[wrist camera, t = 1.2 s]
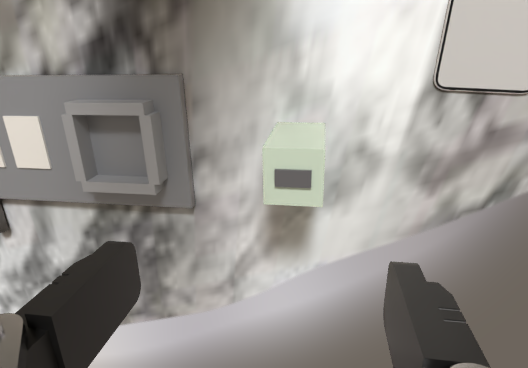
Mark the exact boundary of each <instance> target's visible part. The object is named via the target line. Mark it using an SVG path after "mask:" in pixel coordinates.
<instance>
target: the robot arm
mask: <svg viewBox="0 0 528 368" xmlns="http://www.w3.org/2000/svg"><path fill="white" fill-rule="evenodd" d="M140 289H141V282H140V276H139V269H138V263H137V257H136V250H135V247H134V245H133V244H132V243H130V242H116V241H108V242H106V243H104V244H103V245H102V246H101V247H100V248H99V249H98V250H96V251H95V252H94V253H93V254H92V255H89V256H87V257H85V258H84V259H82V260H80V261H78V262H76V263H74V264H73V265H72V266H70V267H69V268H68V269H67V270H66V271H64V272H63V273H62V276H59V277H57V278H56V279H55V280H54V281H53V282H52V284H49V285H48V286H47V287H46V288H44V289H43V290H42V291H41V292H40V293H39V294H37V295H36V296H35V297H34V298H33V299H31V300H30V301H29V302H28V303H27V304H26V305H24V306H23V307H22V308H21V309H20V310H18V311H17V312H16V313H15V314H12V313H4V314H0V368H88V366H89V365H90V364H91V362H92V361H93V360H94V358H95V357H96V356H97V354H98V353H99V352H100V350H101V349H102V348H103V346H104V345H105V343H106V342H107V341H108V340H109V338H110V337H111V336H112V334H113V333H114V332H115V330H116V329H117V328H118V326H119V325H120V324H121V322H122V321H123V320H124V318H125V317H126V316H127V314H128V313H129V312H130V310H131V309H132V308H133V306H134V305H135V303H136V302H137V300H138V298H139V294H140ZM383 316H384V327H385V332H386V336H387V341H388V345H389V350H390V355H391V359H392V364H393V368H491V367H490V366H489V364H488V362H487V360H486V358H485V356H484V354H483V352H482V350H481V348H480V347H479V345H478V343H477V341H476V339H475V337H474V335H473V333H472V331H471V330H470V328H469V326H468V324H466V320H465V318H464V316H463V315H462V313H461V312H460V309H459V307H458V305H457V303H456V301H455V299H454V297H453V296H452V294H450V293H449V292H448V291H447V290H446V289H445V288H444V287H442V286H441V285H440V284H439V283H435V282H426V280H425V277H424V275H423V273H422V271H421V268H420V266H419V265H418V264H417V263H403V262H390V264H389V268H388V276H387V283H386V292H385V300H384V313H383Z"/></svg>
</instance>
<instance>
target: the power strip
mask: <svg viewBox="0 0 528 368" xmlns="http://www.w3.org/2000/svg"><path fill="white" fill-rule="evenodd" d="M0 198H2V199H21V200H41V201H60V202H80V203H99V204H119V205H138V206H158V207H177V208H192V207H193V206H194V205H195V195H194V185H193V175H192V164H191V154H190V144H189V134H188V124H187V113H186V103H185V93H184V83H183V74H126V75H0ZM8 229H9V228H8V225H7V222H6V219H5V215H4V212H3V209H2V206H1V203H0V233H1V232H5V231H7V230H8Z"/></svg>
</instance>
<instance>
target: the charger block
mask: <svg viewBox="0 0 528 368" xmlns="http://www.w3.org/2000/svg"><path fill="white" fill-rule="evenodd" d="M262 154H263V200H264V204H268V205H289V206H309V207H323V189H324V167H325V123H287V122H277V124H276V126H275V127H274V129H273V131H272V132H271V134H270V136H269V137H268V139H267V141H266V143H265V144H264V146H263V148H262Z"/></svg>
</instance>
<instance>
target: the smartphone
mask: <svg viewBox="0 0 528 368" xmlns="http://www.w3.org/2000/svg"><path fill="white" fill-rule="evenodd" d="M433 80H434V84H435V86H436V87H437V88H439V89H441V90H446V91H464V92H484V93H505V94H526V93H528V0H449V2H448V7H447V12H446V17H445V22H444V27H443V32H442V37H441V42H440V47H439V52H438V57H437V62H436V67H435V72H434V79H433Z"/></svg>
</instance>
